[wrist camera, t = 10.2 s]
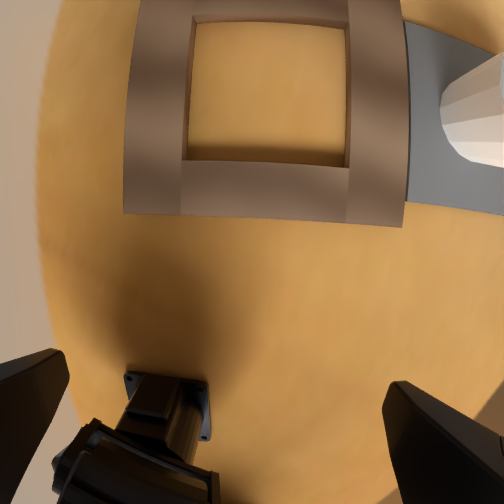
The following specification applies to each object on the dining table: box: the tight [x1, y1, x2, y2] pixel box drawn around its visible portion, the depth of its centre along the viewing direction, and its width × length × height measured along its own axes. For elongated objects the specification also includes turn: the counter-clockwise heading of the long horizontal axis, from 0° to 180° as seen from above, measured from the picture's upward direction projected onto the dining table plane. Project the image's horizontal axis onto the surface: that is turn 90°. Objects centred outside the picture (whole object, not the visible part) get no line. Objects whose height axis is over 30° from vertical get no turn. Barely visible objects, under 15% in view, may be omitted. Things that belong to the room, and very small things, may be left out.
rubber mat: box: [403, 21, 504, 216], centre depth 15 cm, size 12×10×1 cm
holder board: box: [123, 0, 409, 228], centre depth 15 cm, size 15×16×1 cm
